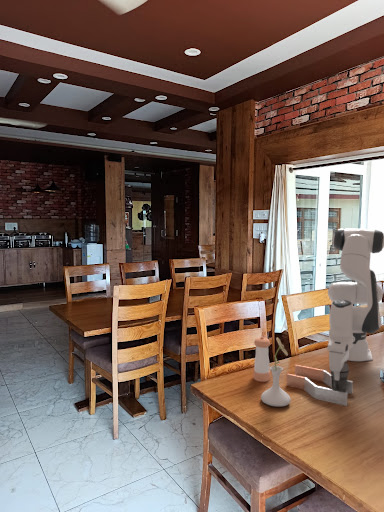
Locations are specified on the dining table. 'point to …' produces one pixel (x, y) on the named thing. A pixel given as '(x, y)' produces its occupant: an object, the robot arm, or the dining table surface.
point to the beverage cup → (341, 379)
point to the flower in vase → (276, 385)
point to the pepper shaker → (261, 360)
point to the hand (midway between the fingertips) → (339, 375)
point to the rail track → (316, 391)
